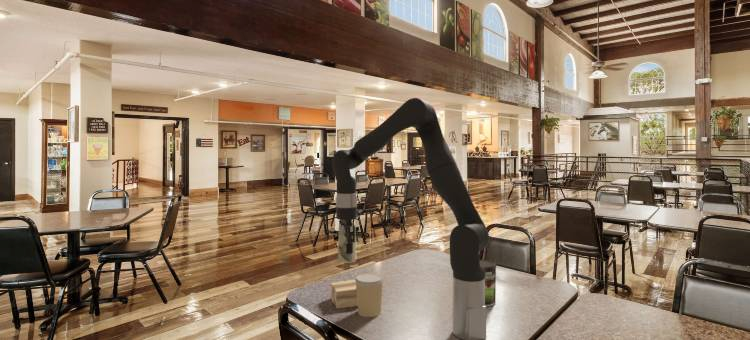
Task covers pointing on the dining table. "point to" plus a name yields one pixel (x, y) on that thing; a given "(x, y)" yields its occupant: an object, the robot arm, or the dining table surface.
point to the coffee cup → (369, 294)
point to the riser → (344, 293)
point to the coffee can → (489, 281)
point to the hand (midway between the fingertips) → (347, 251)
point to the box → (342, 248)
